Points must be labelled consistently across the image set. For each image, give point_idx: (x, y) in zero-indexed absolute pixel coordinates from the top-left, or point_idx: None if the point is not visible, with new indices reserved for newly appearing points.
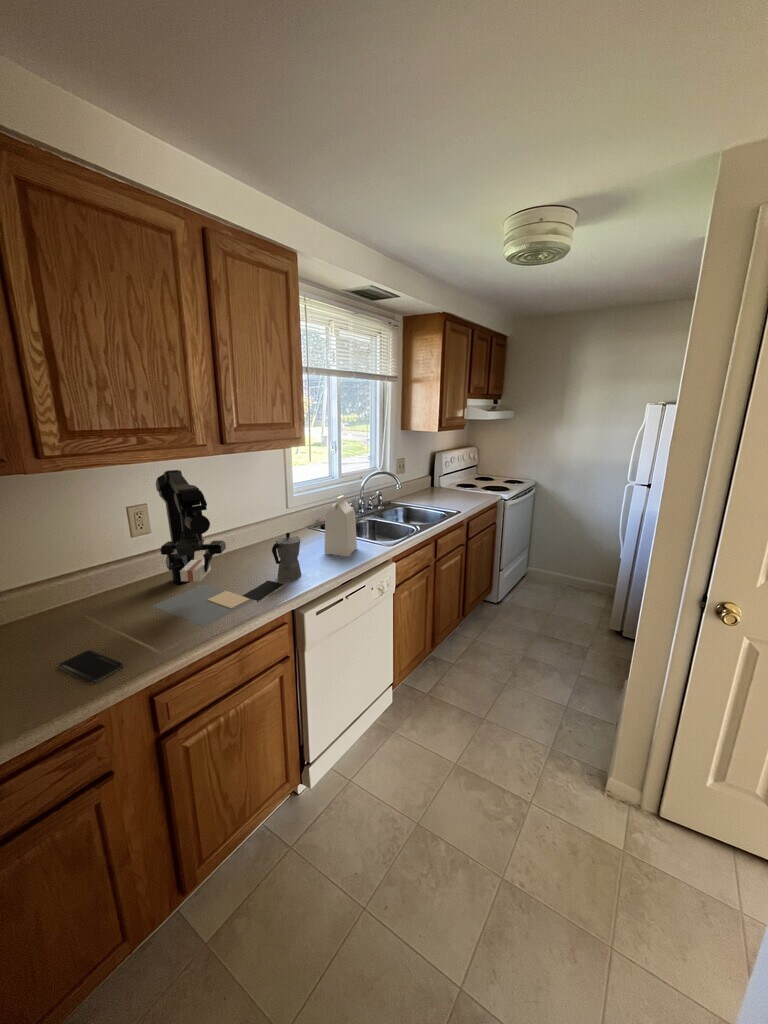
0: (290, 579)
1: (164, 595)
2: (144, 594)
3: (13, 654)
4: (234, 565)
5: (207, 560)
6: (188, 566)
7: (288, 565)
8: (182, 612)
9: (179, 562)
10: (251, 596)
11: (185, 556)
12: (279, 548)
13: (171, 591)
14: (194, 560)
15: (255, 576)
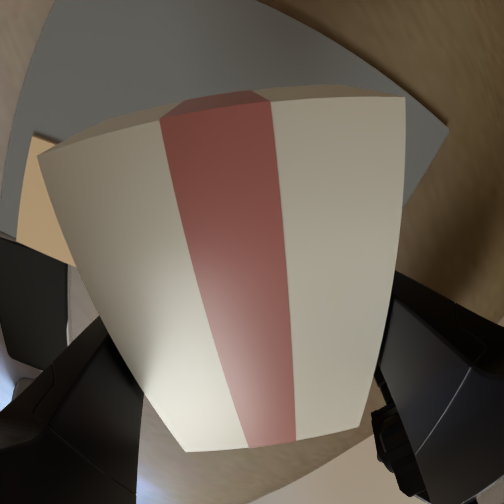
0: (19, 381)
1: (431, 239)
2: (489, 239)
3: None
4: None
5: (25, 402)
6: (338, 300)
7: None
8: (271, 50)
9: (480, 317)
10: (30, 265)
11: (426, 440)
12: None
13: (414, 274)
14: (328, 426)
15: (143, 405)
